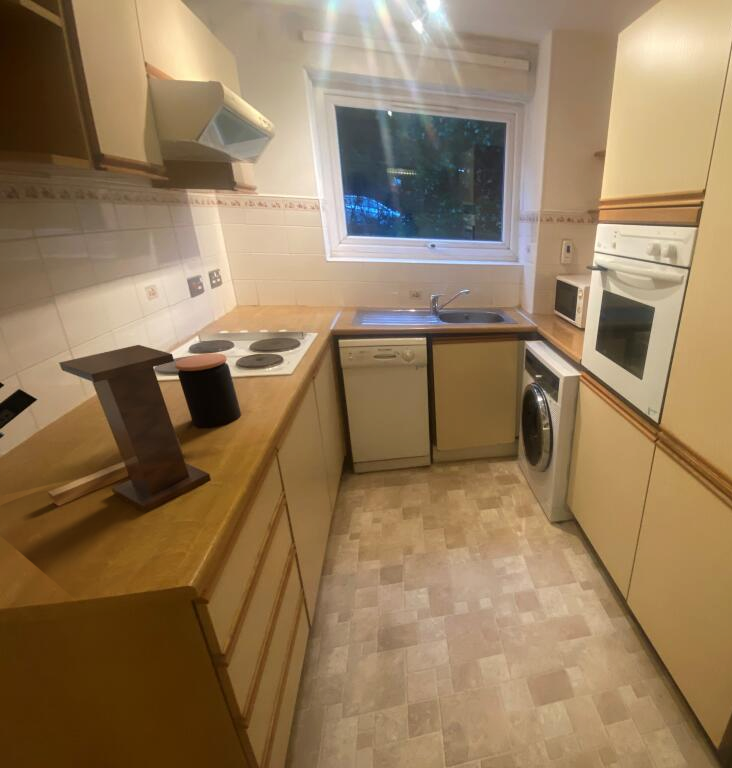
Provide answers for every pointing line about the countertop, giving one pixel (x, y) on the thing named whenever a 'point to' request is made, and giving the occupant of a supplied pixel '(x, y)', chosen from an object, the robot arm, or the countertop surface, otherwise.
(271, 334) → the countertop surface
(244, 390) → the countertop surface
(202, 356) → the coffee jar
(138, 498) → the stand
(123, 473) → the mallet
